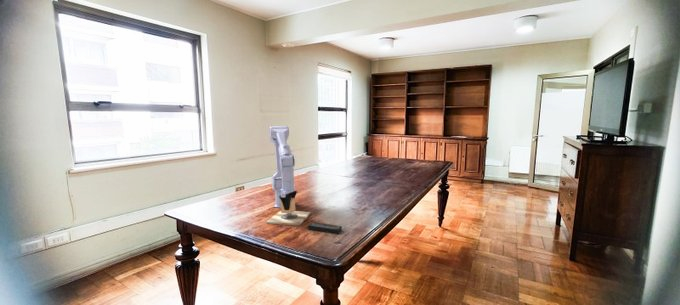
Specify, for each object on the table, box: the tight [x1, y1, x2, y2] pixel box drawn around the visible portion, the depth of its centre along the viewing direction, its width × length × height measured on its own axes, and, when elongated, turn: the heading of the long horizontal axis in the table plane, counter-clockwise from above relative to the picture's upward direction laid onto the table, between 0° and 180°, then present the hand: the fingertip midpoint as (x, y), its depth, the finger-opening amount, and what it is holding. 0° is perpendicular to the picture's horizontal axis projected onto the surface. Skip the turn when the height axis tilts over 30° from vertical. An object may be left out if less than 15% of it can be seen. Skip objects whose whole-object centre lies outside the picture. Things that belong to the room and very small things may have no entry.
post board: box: [266, 210, 311, 227], centre depth 138 cm, size 16×16×6 cm
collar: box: [280, 197, 296, 213], centre depth 137 cm, size 5×5×6 cm
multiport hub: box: [307, 221, 343, 235], centre depth 124 cm, size 4×14×2 cm, turn 67°
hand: (289, 207), depth 138 cm, fingers closed on collar, 5 cm apart
